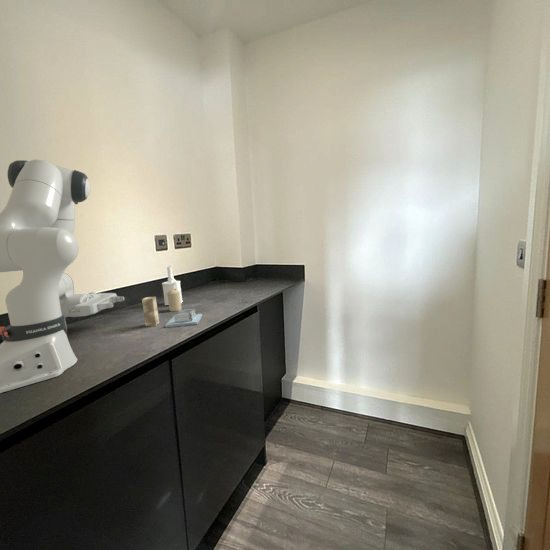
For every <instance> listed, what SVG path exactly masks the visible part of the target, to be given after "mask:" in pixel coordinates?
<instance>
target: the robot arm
mask: <svg viewBox="0 0 550 550" xmlns="http://www.w3.org/2000/svg"><path fill="white" fill-rule="evenodd" d="M6 175H7V181H8V183H9V186H10V188H12V189H11V193H10V196H9V198H8V200H7V203H6V205H5V206H4V208H3V209H2V211H1V212H0V273H9V272H18V271H19V272H20V271H22V280H21V282H20V283H19V285H17V286H15V287H14V288H12V289H10V290H9V291H8V293H7V294H6V295H5V305H6V308H7V309H6V310H7V314H8V319H9V323H10V324H9V325H7V326H0V335H1V337H2V340H3V341H2V342H1V343H0V394H2V393H4V392H9V391H12V390H15V389H18V388H22V387H26V386H29V385H32V384H36V383H40V382H44V381H46V380H49V379H53V378H57V377H59V376H60V375H62V374H63V373H64V371H66V370H68V369H69V368H71V367H72V366H74V365H75V364H76V363H77V361H78V358H77V356H76V355H75V352H74V351H73V348H72V347H71V345H70V341H69V339H68V328H67V322H66V318H68V317H71V318H78V317H87V316H90V315H95V314H97V313H99V312H101V311H102V310H105V309H111V308H113V307H114V303H117V302H119V303H120V302H124V301H125V297H124V296H118V295H117V293H115V292H100V293H97V292H96V291H95V292H89V293H78V294H74V293H75V290H74V289H75V288H74V287H75V286H74V281H73V279H72V277H71V276H70V275H69V274H67V273H65V271H66V270H67V268H68V267H69V266H70V265H71V264H72V263H74V262H75V260H76V258H77V257H78V254H79V248H80V247H79V243H78V240H77V238H76V237H75V235H74V232H75V228H76V227H75V224H76V212H75V211H76V210H75V209H76V208H75V205H78V204H79V203H82V202H84V201H86V200H87V199H88V196H90V192H91V183H90V181H89V177H88V176H87V175H86V173H84V172H81V171H79V170H76V169H74V170H73V169H70V168H67V167H66V168H65V167H62V166H58V165H54V164H53V163H51V162H49V161H47V160H45V159H32V160H29V161H28V160H26V159H25V160H22V159H21V160H20V159H19V160H14V161H12V162H11V163H10V164H9V165H8V169H7V172H6Z"/></svg>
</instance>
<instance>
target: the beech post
mask: <svg viewBox="0 0 550 550" xmlns="http://www.w3.org/2000/svg"><path fill="white" fill-rule="evenodd" d="M141 301H142V309H143V310H142V311H143V315H144V323H145V327H147V326H148V327H157V326H158V325H159V324H160V317H159V311H158V304H157V302H158V301H157V296H147V297H144V298H141ZM157 324H158V325H157Z"/></svg>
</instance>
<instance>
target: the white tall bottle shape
mask: <svg viewBox="0 0 550 550" xmlns="http://www.w3.org/2000/svg"><path fill="white" fill-rule="evenodd" d="M174 275H175V274H173V268H172V267H171V265H167V276H168V277H167V281H164V282H162V283H161V286H162V290H163V299H164V306H166V305H169V302H168V295H167V293H168V292H169V290H172V289H177V290H178V291H179V292H180V299H181V304H183V303H184V301H183V296H182V295H183V294H182V288H181V280H177V279H175V278H174ZM182 302H183V303H182Z"/></svg>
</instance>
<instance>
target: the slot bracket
mask: <svg viewBox="0 0 550 550" xmlns="http://www.w3.org/2000/svg"><path fill="white" fill-rule="evenodd" d="M177 312H178V313H177V314H173V316H174V319H175V323H176V322H186V321H192V320H193V319H194V317H195V316H196V314H197V313H196V308H190V309H189V308H186V309H181V310H178V311H177Z"/></svg>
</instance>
